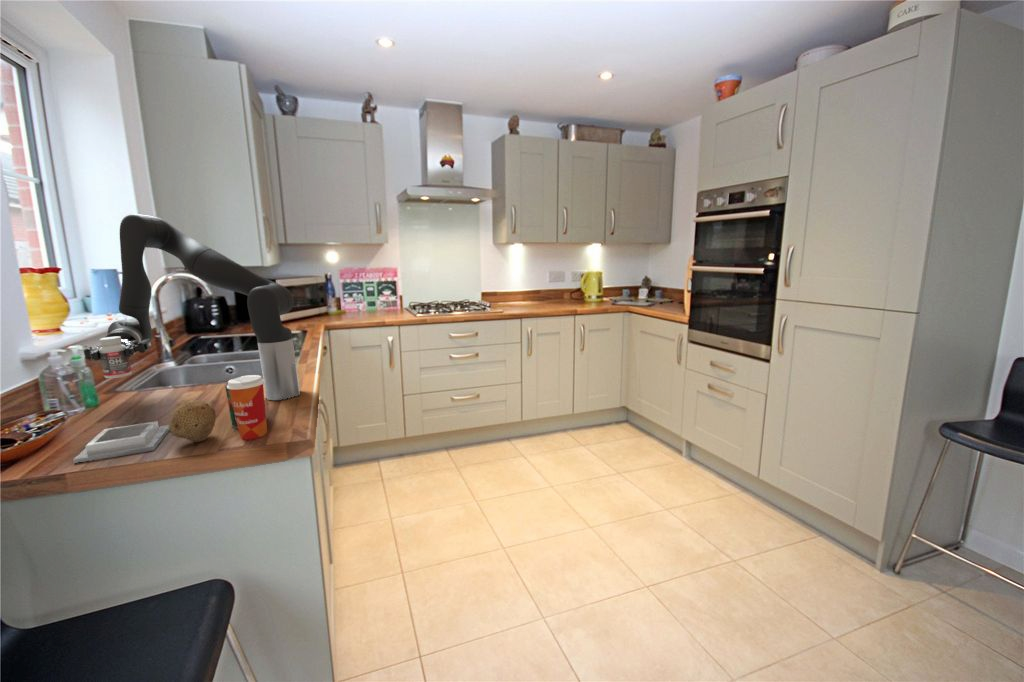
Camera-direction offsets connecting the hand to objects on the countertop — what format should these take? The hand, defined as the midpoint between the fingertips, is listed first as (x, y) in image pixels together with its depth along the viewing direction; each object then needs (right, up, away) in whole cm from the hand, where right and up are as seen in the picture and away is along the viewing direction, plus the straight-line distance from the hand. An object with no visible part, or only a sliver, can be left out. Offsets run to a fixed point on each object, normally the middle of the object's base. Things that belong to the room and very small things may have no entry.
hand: (112, 354), depth 112 cm
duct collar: (+8, -21, -5) cm, 23 cm away
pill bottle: (-1, -6, +3) cm, 7 cm away
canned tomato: (+30, -18, +6) cm, 35 cm away
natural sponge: (+24, -20, -5) cm, 32 cm away
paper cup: (+36, -19, -2) cm, 41 cm away
